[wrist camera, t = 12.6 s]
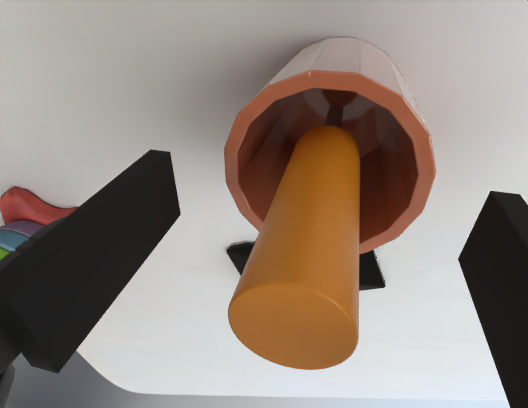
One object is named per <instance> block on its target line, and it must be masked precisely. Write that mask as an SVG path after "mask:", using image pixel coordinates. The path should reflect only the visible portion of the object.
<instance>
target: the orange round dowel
mask: <svg viewBox="0 0 528 408" xmlns="http://www.w3.org/2000/svg"><path fill="white" fill-rule="evenodd" d="M342 115H343V111H342V109H341V108H340V107H338V106H333V107H331V108H330V109H329V111H328V114H327V118H326V122H325V126H319V127H315V128H313V129H311V130H309V131H307V132H306V133H305V134H303V135H302V136H301V138H300V139H299V140H298V142H297V144H296V146H295V149H294V151H293V153H292V156H291V158H290V161H289V163H288V165H287V168H286V170H285V172H284V175H283V177H282V180H281V182H280V184H279V187H278V189H277V192H276V194H275V196H274V199H273V201H272V204H271V206H270V208H269V211H268V213H267V216H266V218H265V220H264V223H263V225H262V228H261V230H260V232H259V235H258V237H257V239H256V242H255V244H254V247H253V249H252V251H251V254H250V256H249V259H248V261H247V263H246V266H245V268H244V271H243V273H242V275H241V278H240V280H239V283H238V285H237V287H236V290H235V292H234V294H233V297H232V299H231V302H230V304H229V308H228V319H229V323H230V326H231V328H232V330H233V332H234V334H235V335H236V337H237V338H238V339H239V340H240V341H241V342H242V343H243V344H244V345H245V346H246V347H247V348H248V349H250V350H251V351H252V352H254V353H256V354H257V355H259V356H261V357H262V358H264V359H266V360H269V361H271V362H273V363H276V364H279V365H283V366H286V367H291V368H296V369H307V370H315V369H324V368H329V367H332V366H335V365H338V364H340V363H342V362H343V361H345V360H346V359H348V358H349V357H350V356H351V355H352V353H353V352H354V350H355V348H356V346H357V343H358V328H359V216H360V151H359V147H358V144H357V142H356V141H355V139H354V138H353V137H352V136H351V135H350V134H349V133H348V132H346V131H345V130H343V129H341V122H342Z"/></svg>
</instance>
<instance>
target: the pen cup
mask: <svg viewBox="0 0 528 408" xmlns="http://www.w3.org/2000/svg"><path fill="white" fill-rule="evenodd" d="M333 106H338V107H340V108H341V109H342V111H343V115H342V122H341V129H343V130H345V131H346V132H348V133H349V134H350V135H351V136H352V137H353V138H354V139H355V141H356V142H357V144H358V147H359V151H360V216H359V254H363V253H366V252H369V251H371V250H373V249H375V248H377V247H379V246H381V245H383V244H385V243H388V242H390V241H392V240H394V239H396V238H397V237H399V236H400V235H401V234H402V233H403V231H404V230H405V229H406V228H407V227H408V226H409V225H410V224H411V223H412V222H413V221H414V220H415V219H416V218H417V217H418V216H419V215H420V214H421V213H422V211H423V210H424V208H425V205H426V202H427V199H428V196H429V193H430V190H431V187H432V184H433V182H434V179H435V176H436V174H435V173H436V168H435V162H434V155H433V148H432V141H431V135H430V133H429V130H428V128H427V126H426V124H425V121H424V119H423V117H422V115H421V113H420V111H419V109H418V107H417V105H416V102H415V100H414V98H413V96H412V94H411V92H410V90H409V88H408V86H407V83H406V81H405V79H404V77H403V75H402V74H401V72H400V71H399V70H398V68H397V67H396V65H395V63H394V62H393V61H392V60H391V58H390V57H389V56H388V54H386V52H384V51H382V50H381V49H379V48H378V47H376V46H375V45H373V44H371V43H368V42H366V41H363V40H360V39H356V38H348V37H336V38H329V39H325V40H322V41H319V42H316V43H314V44H312V45H310V46H308V47H306V48H303V49H302V50H301V51H300V52H299V53H298V54H297V55H296V56H295V57H293V59H291V60H290V61H289V62H288V63H287V64H286V65H285V66H284V67H283V68H282V69H281V70H280V71H279V72H278V73H277V74H276V75H275V76H274V77H273V78H272V79H271V80H270V81H269V82H268V83H267V85H266V86H265V87H264V88H263V89H262V90H261V91H260V92H259V93H258V94H257V95H256V96H255V97H254V98H253V99H252V100H251V101H250V102H249V103H248V104H247V105H246V106H245V107H244V108H243V109H242V110H241V111H240V112H239V113H238V115H237V116H236V118H235V121H234V123H233V126H232V129H231V131H230V134H229V137H228V139H227V142H226V144H225V147H224V158H225V174H226V183H227V186H228V188H229V191H230V193H231V195H232V197H233V199H234V201H235V203H236V205H237V207H238V209H239V211H240V213H241V214H242V215H243V216H244V217H245V218H246V219H247V220H248V221H249V222H250V223H251V224H252V225H253V226H254V227H255V228H256V229H257V230H258V231H259V232H260V230H261V228H262V225H263V223H264V220H265V218H266V216H267V213H268V211H269V208H270V206H271V204H272V201H273V199H274V196H275V194H276V192H277V189H278V187H279V184H280V182H281V180H282V177H283V175H284V172H285V170H286V168H287V165H288V163H289V161H290V158H291V156H292V153H293V151H294V149H295V146H296V144H297V142H298V140H299V139H300V138H301V136H302V135H303V134H305V133H306V132H307V131H309V130H311V129H313V128H315V127H319V126H325V122H326V118H327V114H328V111H329V109H330V108H331V107H333Z"/></svg>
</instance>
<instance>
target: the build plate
mask: <svg viewBox="0 0 528 408" xmlns="http://www.w3.org/2000/svg"><path fill="white" fill-rule="evenodd" d="M254 244H255V242H248V241H244V242H239V243H235V244H231V246H230V247H228V248H227V250H226V252H227V253H228V255H229V257H230V258H231V260H232V262H233V263H234V265H235V267H236V268H237V270H238V272H239V273H240V275H242V273H243V271H244V268H245V266H246V263H247V261H248V259H249V256H250V254H251V251H252V249H253V247H254ZM384 287H385V281H384V278H383V275H382V272H381V270H380V267H379V264H378V261H377V258H376V256H375V253H374V250H371V251H369V252H366V253H363V254H359V291H360V290H369V289H377V288H384Z"/></svg>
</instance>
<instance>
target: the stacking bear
mask: <svg viewBox="0 0 528 408" xmlns="http://www.w3.org/2000/svg"><path fill="white" fill-rule="evenodd" d="M0 209H1V213H2V217H3V220H4V223H5V225H3V226H1V227H0V260H1V259H2V258H3V257H4V256H6V255H7V254H8V253H10V252H11V251H15V249H16V247H17V246H19V245H20V244H21V243H23V242H24V241H25V240H27V241H28V240H29V237H30V236H32V235H33V234H34V233H35V232H37V231H38V230H39V229H41V228H42V227H43V226H45V225H47V224H49V223H51V222H53V221H55V220H57V219H59V218H61V217H63V216H66V217H67V216H68V215H70V214H71V213H72V212H73V211H75V210H76V209H77V208H70V209H58V208H55V207H52V206H50V205H47V204H46V203H44V202H42V201H41V200H40V199H38V198H37V197H36V196H35V195H33V194H32V193H30V192H29V191H27V190H24V189H20V188H17V187H13V188H11V189H9V190H8V191H7V192H5V193H4V194H3V195H2V196H1V198H0Z"/></svg>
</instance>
